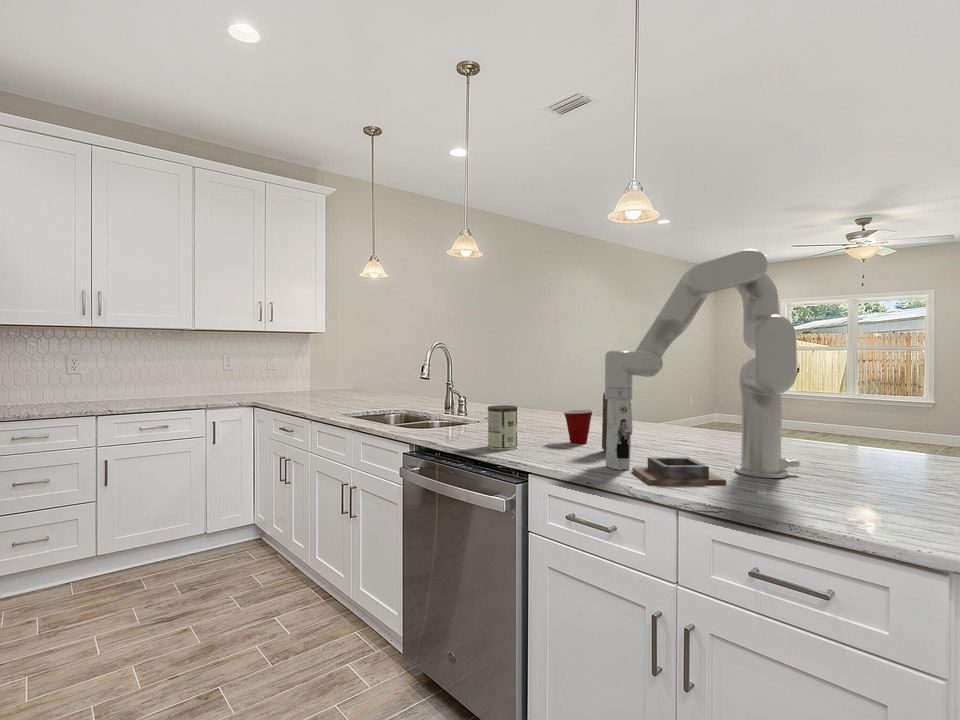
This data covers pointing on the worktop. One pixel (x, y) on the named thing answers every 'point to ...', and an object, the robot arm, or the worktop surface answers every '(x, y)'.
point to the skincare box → (615, 452)
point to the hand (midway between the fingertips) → (617, 454)
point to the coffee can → (502, 427)
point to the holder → (677, 472)
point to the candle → (604, 423)
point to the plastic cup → (578, 425)
